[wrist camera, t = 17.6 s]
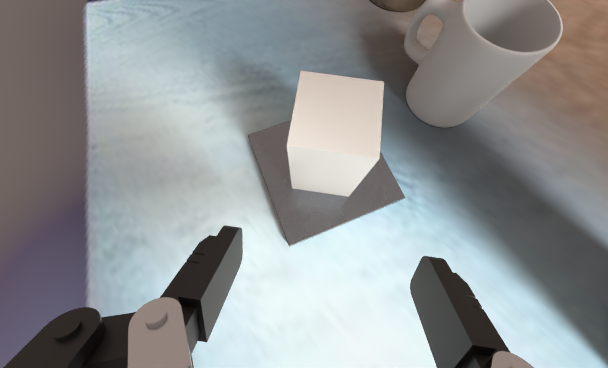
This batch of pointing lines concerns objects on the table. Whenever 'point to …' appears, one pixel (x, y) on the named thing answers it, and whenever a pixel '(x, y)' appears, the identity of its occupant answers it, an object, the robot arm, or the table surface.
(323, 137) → the white rectangular block
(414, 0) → the pillar candle
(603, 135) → the table surface
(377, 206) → the base plate
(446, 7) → the mug
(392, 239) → the table surface
